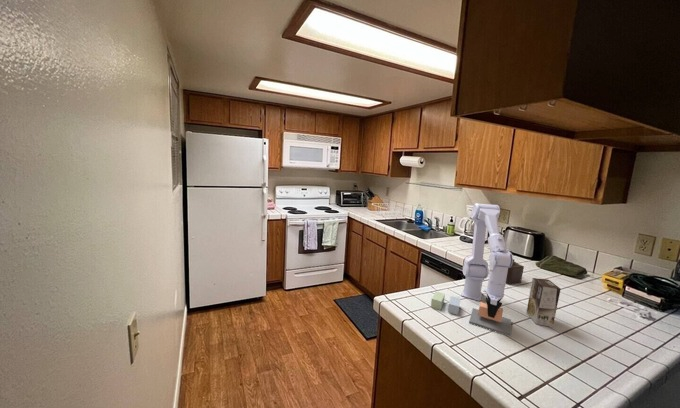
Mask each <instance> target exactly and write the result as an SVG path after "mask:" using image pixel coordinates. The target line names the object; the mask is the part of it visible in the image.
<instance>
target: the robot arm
mask: <svg viewBox="0 0 680 408" xmlns="http://www.w3.org/2000/svg"><path fill="white" fill-rule="evenodd" d="M500 214H501V208H500V206H499V205H498V204H490V203H487V204H486V203H478V202H476V203H474V205H473V206H472V209H471V216H470V217H471V221H473V222H474V223H473V224H474V227H473V237H472V248H471V255H470V256H468V257H467V258H465V259H464V262H463V265H462V273H463V274H462V275H464V277H465V279H464V284H463V286H464V287H463V289H462V292H461V297H463V298H467V299H471V300H473V301H474V300H475V301H479V302H481V299H482V295H483V292H484V293H486V295H487V297H485V303H486V304H487V308H488V316H489V317H492V318H494V317H495V315H496V313H497V311H498V309H499V308H502V306H503V302H501V300H503V299H504V297H505V289H506V285H507V284H506V278H507V272H508V267H509V268H510V267H511V266H512V264H513V259H514V257H513V253H512V254H511V253H510V252H509V251H510V250H509V249H508V248H507V244H506V242H505V237H504V236H503V235H502V234H500V228H499V221H498V220H499V217H500ZM486 232H488V234H489V236H488V237H487V244H488V247H489V250H490V254H489V259H488V260H489V262H488V261H486V260H485V259H484V252H485V242H486ZM489 269H490V271H489ZM487 278H488V282H487V287H486V288H483V281H485V280H486V279H487ZM482 288H483V292H482Z"/></svg>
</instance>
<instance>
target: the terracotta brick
mask: <svg viewBox="0 0 680 408" xmlns="http://www.w3.org/2000/svg"><path fill="white" fill-rule="evenodd" d="M479 302H480V303H479V308H478V310H479V313H478V316H482V317H485V318H488V319H491V320H495V321H498V322H501V320H502V317H503V315H504V308H503V307H500V308H499V309H498V311H497V313H496V315H495V317H494V318H492V317H489V316H488V308H487V303H486V302H482V301H479Z"/></svg>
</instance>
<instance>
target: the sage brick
mask: <svg viewBox="0 0 680 408" xmlns="http://www.w3.org/2000/svg"><path fill="white" fill-rule="evenodd" d="M445 296H446V294H445V293H442V292H438V291H434V294H433V296H432V298H431V303H430V308H433V309H436V310H439V311H441V309H442V307H443V306H444V302H445V299H446V298H445Z"/></svg>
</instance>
